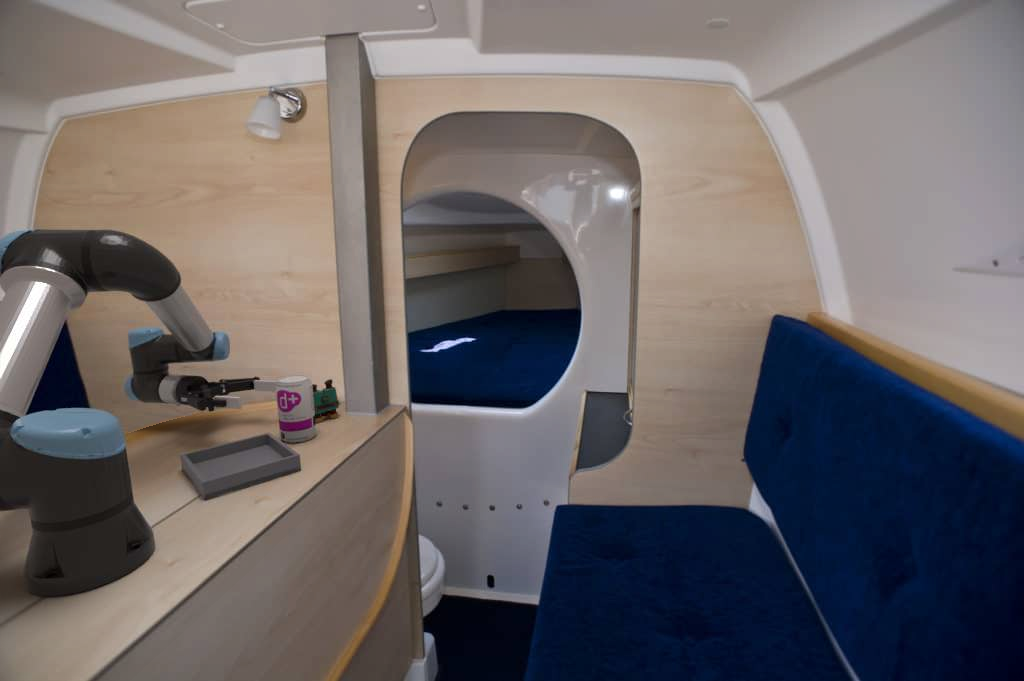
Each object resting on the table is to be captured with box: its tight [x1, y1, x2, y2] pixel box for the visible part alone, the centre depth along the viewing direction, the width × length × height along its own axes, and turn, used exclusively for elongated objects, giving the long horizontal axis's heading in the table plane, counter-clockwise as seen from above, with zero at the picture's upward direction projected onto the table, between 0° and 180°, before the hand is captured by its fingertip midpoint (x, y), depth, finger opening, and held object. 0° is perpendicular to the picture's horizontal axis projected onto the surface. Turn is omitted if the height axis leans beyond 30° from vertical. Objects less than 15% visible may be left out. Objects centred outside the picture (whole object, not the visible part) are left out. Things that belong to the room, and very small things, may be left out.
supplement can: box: [275, 374, 317, 444], centre depth 125 cm, size 8×8×15 cm
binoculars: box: [312, 378, 340, 424], centre depth 140 cm, size 9×11×10 cm
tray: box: [179, 432, 302, 501], centre depth 108 cm, size 18×18×4 cm
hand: (259, 394), depth 126 cm, fingers open, 13 cm apart
